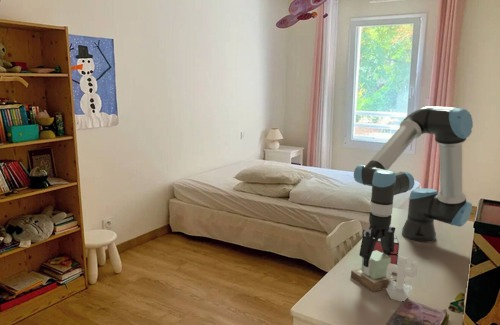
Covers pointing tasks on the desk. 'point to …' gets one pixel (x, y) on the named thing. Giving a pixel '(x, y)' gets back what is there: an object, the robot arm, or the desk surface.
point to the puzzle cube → (396, 247)
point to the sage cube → (378, 264)
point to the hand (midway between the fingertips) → (375, 272)
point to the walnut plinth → (371, 280)
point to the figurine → (400, 279)
